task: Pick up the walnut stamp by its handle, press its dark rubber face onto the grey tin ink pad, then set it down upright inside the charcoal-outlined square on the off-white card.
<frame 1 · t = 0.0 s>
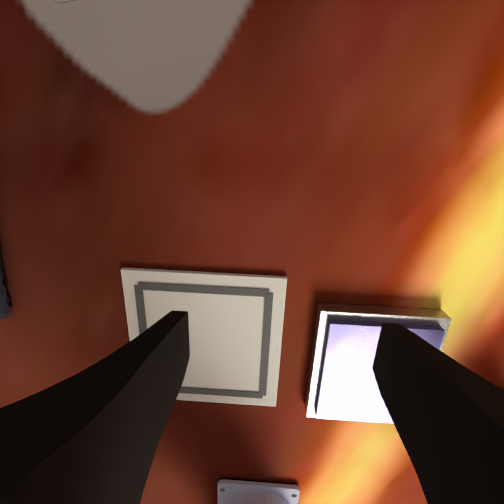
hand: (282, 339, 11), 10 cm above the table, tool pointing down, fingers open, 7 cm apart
print card: (205, 340, 23), on the table
ink pad: (367, 361, 23), on the table
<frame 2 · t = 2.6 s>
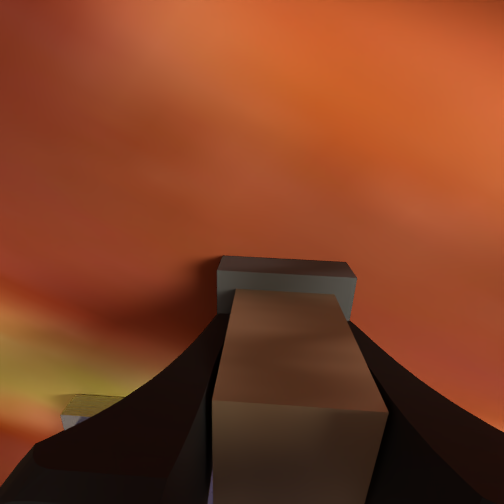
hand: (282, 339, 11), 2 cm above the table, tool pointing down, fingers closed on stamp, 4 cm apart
ink pad: (177, 462, 16), on the table
stamp: (279, 312, 13), on the table, touching gripper
when the fingers open (3 cm above the table, at t = 10.4 s): stamp stays where it is, resting on print card.
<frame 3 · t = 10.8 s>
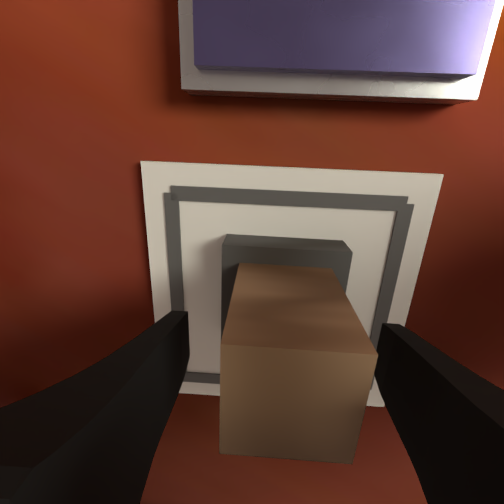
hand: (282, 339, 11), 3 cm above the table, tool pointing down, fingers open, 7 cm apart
print card: (278, 296, 14), on the table
stamp: (280, 289, 13), resting on print card
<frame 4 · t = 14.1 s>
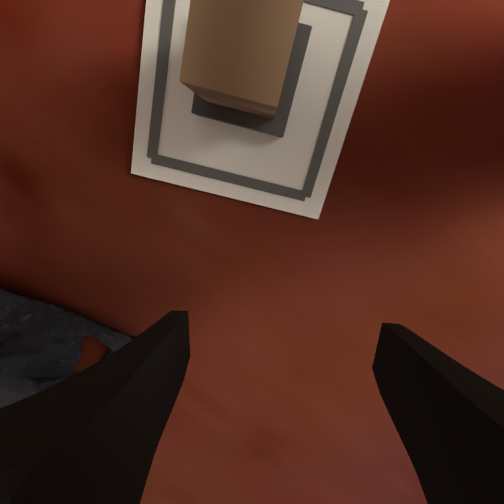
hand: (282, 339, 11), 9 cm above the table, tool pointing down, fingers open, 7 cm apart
print card: (247, 92, 16), on the table
dark slate chunk: (22, 349, 24), on the table
stamp: (250, 78, 16), resting on print card
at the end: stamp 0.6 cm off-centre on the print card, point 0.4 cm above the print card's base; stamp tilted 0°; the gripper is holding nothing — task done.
